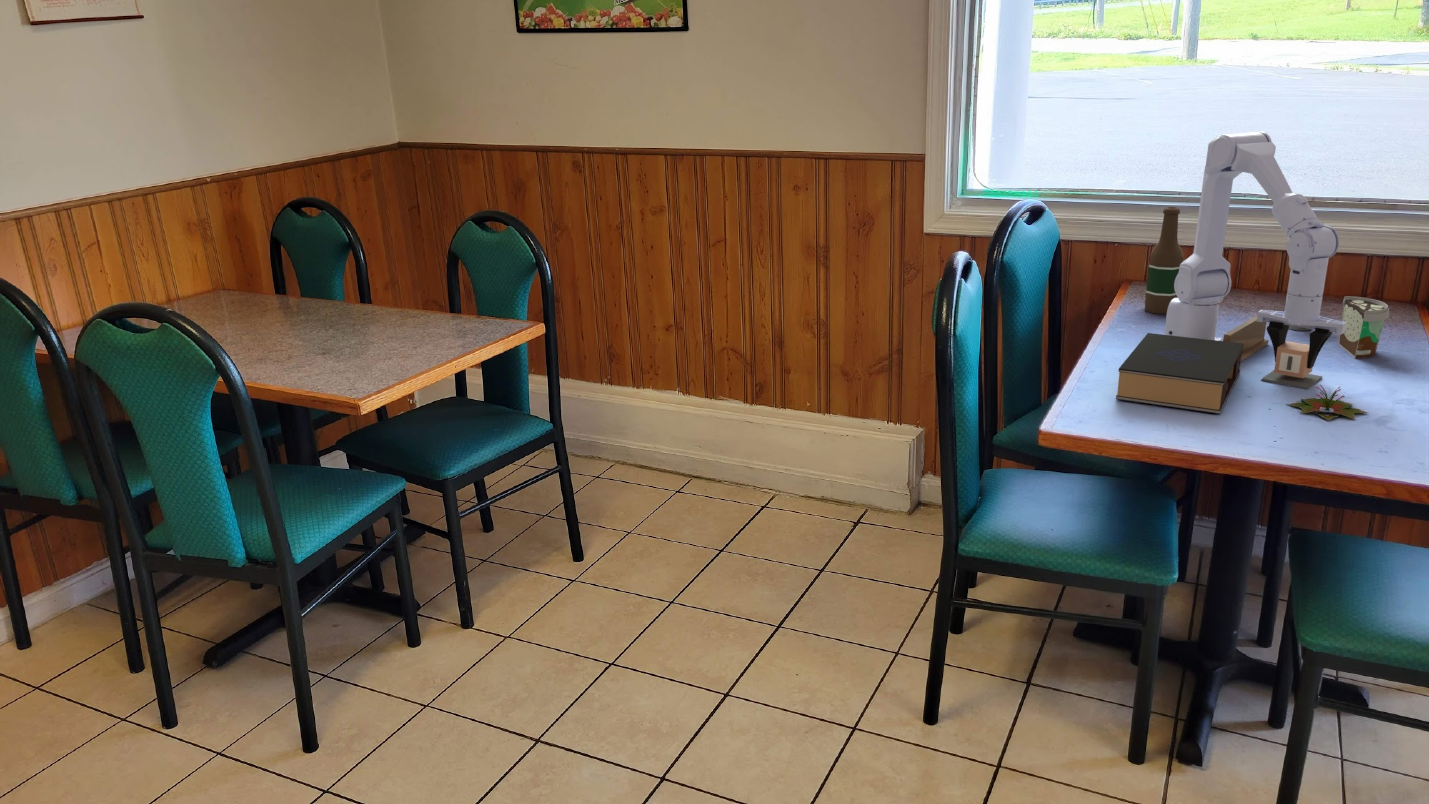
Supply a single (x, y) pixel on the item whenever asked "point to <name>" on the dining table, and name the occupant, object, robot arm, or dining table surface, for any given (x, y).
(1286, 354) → the letter cube
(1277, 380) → the charcoal pad
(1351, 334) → the food container
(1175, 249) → the beer bottle
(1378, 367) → the dining table surface
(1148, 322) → the dining table surface
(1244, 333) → the walnut screen
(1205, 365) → the book
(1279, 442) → the dining table surface
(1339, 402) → the lily flower
